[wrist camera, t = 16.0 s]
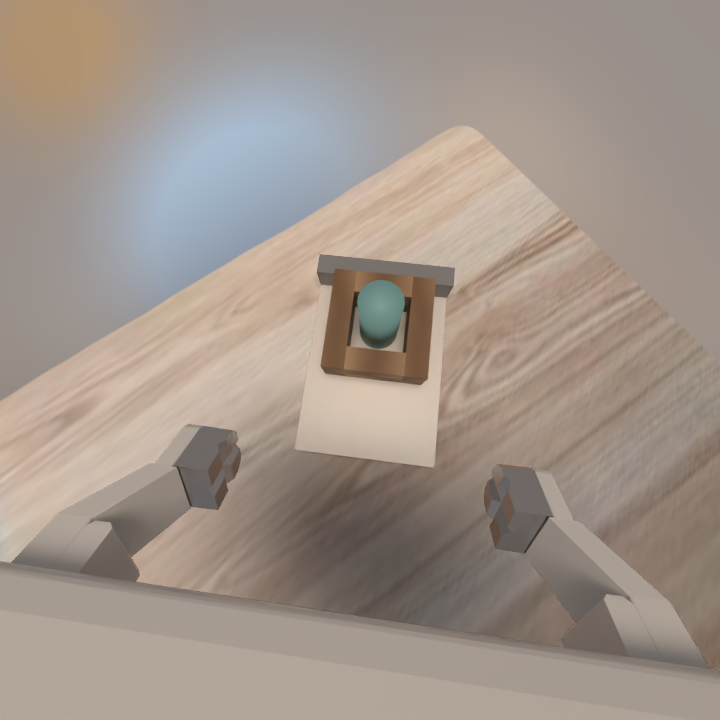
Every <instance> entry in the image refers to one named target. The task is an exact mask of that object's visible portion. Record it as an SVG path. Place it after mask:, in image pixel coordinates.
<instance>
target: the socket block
mask: <svg viewBox="0 0 720 720" xmlns="http://www.w3.org/2000/svg"><path fill="white" fill-rule="evenodd" d="M376 280H386V281H390V282H392V283H394V284H395V285H397V286H398V287H399V288H400V289H401V291H402V293H403V295H404V299H405V306H404V310H403V312H407V313H406V323H405V334H404V344H403V353H402V352H393V351H384V350H375V349H367V348H358V347H350V345H351V337H352V330H353V323H354V315H355V308H356V307H358V304H357V300H358V295H359V293H360V291H361V290H362V288H363V287H364V286H365V285H367V284H368V283H370V282H372V281H376ZM435 283H436V279H432V278H422V277H412V276H403V275H393V274H383V273H374V272H364V271H354V270H345V269H335V273H334V279H333V286H332V293H331V299H330V306H329V312H328V319H327V326H326V332H325V339H324V345H323V352H322V358H321V365H320V367H321V368H322V369H323V371H324V372H325V374H331V375H340V376H348V377H357V378H365V379H374V380H382V381H391V382H399V383H407V384H416V385H422V384H423V383H424V382H425V381H426V380H427V379H428V370H429V358H430V346H431V333H432V321H433V308H434V296H435Z"/></svg>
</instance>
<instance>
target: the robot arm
mask: <svg viewBox="0 0 720 720" xmlns="http://www.w3.org/2000/svg"><path fill="white" fill-rule="evenodd" d="M237 440H238V436H237V432H236V431H233V430H226V429H220V428H213V427H207V426H199V425H192V424H188V425H186V426H184V427H183V428H182V430H181V431H180V432H179V434H178V435H177V436H176V437H175V439H174V440H173V441H172V442H171V444H170V445H169V446H168V447H167V449H166V450H165V451H164V452H163V454H162V455H161V456H160V458H159V459H158V460H157V461H156V463H155V464H148V465H146V466H144V467H142V468H140V469H139V470H137V471H135V472H133V473H131V474H129V475H128V476H126V477H124V478H122V479H120V480H118V481H116V482H115V483H113V484H111V485H109V486H107V487H105V488H104V489H102V490H100V491H98V492H96V493H94V494H93V495H91V496H89V497H87V498H85V499H83V500H81V501H80V502H78V503H76V504H74V505H72V506H70V507H69V508H67V509H65V510H63V511H61V512H59V513H58V514H57V515H56V516H55V517H54V518H53V519H52V520H51V521H50V522H49V523H48V524H47V525H46V526H45V527H44V528H43V530H42V531H41V532H40V533H39V534H38V535H37V536H36V537H35V538H34V539H33V540H32V541H31V542H30V543H29V544H28V545H27V546H26V547H25V548H24V550H23V551H22V552H21V553H20V554H19V555H18V556H17V557H16V558H15V559H14V560H13V561H12V562H11V563H9V562H2V561H0V720H720V671H718V670H712V669H710V668H709V667H708V665H707V663H706V662H705V660H704V658H703V657H702V655H701V653H700V652H699V650H698V648H697V647H696V645H695V643H694V642H693V640H692V638H691V637H690V635H689V633H688V631H687V630H686V628H685V626H684V625H683V623H682V621H681V620H680V618H679V616H678V615H677V613H676V611H675V610H674V608H673V606H672V605H671V603H670V602H669V601H668V600H667V599H666V598H665V597H664V596H663V595H661V594H660V593H659V592H658V591H657V590H656V589H655V588H654V587H653V586H651V585H650V584H649V583H648V582H647V581H646V580H645V579H644V578H642V577H641V576H640V575H639V574H638V573H637V572H636V571H635V570H634V569H632V568H631V567H630V566H629V565H628V564H627V563H626V562H625V561H623V560H622V559H621V558H620V557H619V556H618V555H617V554H616V553H615V552H613V551H612V550H611V549H610V548H609V547H608V546H607V545H606V544H604V543H603V542H602V541H601V540H600V539H599V538H598V537H597V536H596V535H594V534H593V533H592V532H591V531H590V530H589V529H588V528H587V527H585V526H584V525H583V524H582V523H581V522H580V521H575V520H574V519H573V517H572V515H571V513H570V511H569V508H568V506H567V504H566V502H565V500H564V498H563V496H562V494H561V492H560V490H559V488H558V486H557V484H556V481H555V479H554V477H553V475H552V473H551V472H550V471H549V470H543V469H535V468H528V467H520V466H511V465H502V464H496V465H495V466H494V468H493V470H492V475H493V478H492V479H491V480H489V481H487V484H486V487H485V492H484V503H485V508H486V512H487V514H488V515H489V516H490V517H491V518H492V519H493V521H492V523H491V525H490V529H491V533H492V538H493V542H494V546H495V549H501V550H507V551H513V552H519V553H525V556H526V558H527V559H528V560H529V561H530V563H531V564H532V565H533V567H534V568H535V569H536V571H537V572H538V573H539V575H540V576H541V577H542V579H543V580H544V581H545V583H546V584H547V585H548V587H549V588H550V589H551V590H552V592H553V593H554V594H555V596H556V597H557V598H558V600H559V601H560V602H561V604H562V605H563V606H564V608H565V609H566V610H567V612H568V613H569V614H570V616H571V617H572V618H573V619H574V621H575V622H576V624H575V625H574V626H573V627H572V628H571V629H570V630H569V631H568V632H567V633H566V634H565V635H564V637H563V638H562V640H563V643H564V646H565V647H560V646H554V645H547V644H541V643H534V642H528V641H521V640H514V639H508V638H501V637H495V636H488V635H482V634H475V633H469V632H462V631H456V630H449V629H442V628H436V627H429V626H423V625H416V624H410V623H403V622H397V621H390V620H383V619H377V618H370V617H364V616H357V615H351V614H344V613H338V612H331V611H324V610H318V609H311V608H305V607H298V606H292V605H285V604H279V603H272V602H265V601H259V600H252V599H246V598H239V597H232V596H226V595H219V594H213V593H206V592H200V591H193V590H186V589H180V588H173V587H167V586H160V585H154V584H147V583H140V582H136V581H137V579H138V577H139V576H140V574H139V570H138V568H137V566H136V564H135V563H134V561H133V559H132V558H131V557H132V556H133V555H134V554H136V553H137V552H138V551H139V550H141V549H142V548H143V547H144V546H145V545H147V544H148V543H149V542H150V541H152V540H153V539H154V538H155V537H156V536H158V535H159V534H160V533H161V532H163V531H164V530H165V529H166V528H167V527H169V526H170V525H171V524H172V523H174V522H175V521H176V520H177V519H178V518H180V517H181V516H182V515H183V514H185V513H186V512H187V511H188V510H189V509H191V507H198V508H207V509H216V510H218V509H219V507H220V505H221V503H222V501H223V500H224V498H225V496H226V494H227V492H228V488H227V483H228V482H230V481H231V480H233V479H234V478H235V476H236V474H237V472H238V469H239V465H240V461H241V452H240V448H239V447H238V446H237V445H236V442H237Z"/></svg>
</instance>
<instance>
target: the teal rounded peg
mask: <svg viewBox="0 0 720 720" xmlns="http://www.w3.org/2000/svg"><path fill="white" fill-rule="evenodd" d="M357 304H358V316H359V327H360V336H361V339H362V340H363V342H364V343H365V344H366V345H367V346H369V347H371V348H374V349H383V348H386V347H388V346H390V345H391V344H392V343H393V342H394V340H395V338H396V336H397V332H398V328H399V325H400V321H401V317H402V313H403V310H404V306H405V299H404V295H403V293H402V291H401V289H400V288H399V287H398V286H397V285H395V284H394V283H392V282H390V281H386V280H376V281H372V282H370V283H368V284H367V285H365V286H364V287H363V288H362V290H361V291H360V293H359V295H358V300H357Z"/></svg>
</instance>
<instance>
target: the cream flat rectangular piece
mask: <svg viewBox="0 0 720 720" xmlns="http://www.w3.org/2000/svg"><path fill="white" fill-rule="evenodd" d="M335 269H345V270H354V271H364V272H374V273H383V274H393V275H403V276H412V277H422V278H432V279H436V283H435V296H434V308H433V321H432V333H431V346H430V358H429V370H428V379H427V380H426V381H425V382H424V383H423V384H422V385H416V384H407V383H399V382H391V381H382V380H374V379H365V378H357V377H348V376H340V375H331V374H325V372H324V371H323V369H322V368H321V367H320V365H321V358H322V352H323V345H324V339H325V332H326V326H327V319H328V312H329V306H330V299H331V293H332V286H333V279H334V273H335ZM454 270H455V268H450V267H440V266H430V265H421V264H411V263H401V262H391V261H381V260H371V259H362V258H352V257H342V256H332V255H322V254H320V257H319V263H318V269H317V273H318V277H319V280H320V283H321V287H320V294H319V300H318V306H317V312H316V318H315V325H314V331H313V337H312V343H311V350H310V356H309V362H308V368H307V375H306V381H305V387H304V393H303V400H302V406H301V412H300V418H299V425H298V431H297V437H296V443H295V449H294V450H302V451H309V452H317V453H325V454H332V455H340V456H348V457H355V458H363V459H371V460H379V461H386V462H394V463H402V464H409V465H417V466H425V467H432V468H434V465H435V451H436V437H437V423H438V409H439V395H440V381H441V367H442V353H443V339H444V325H445V311H446V298H447V296H448V294H449V293H450V291H451V289H452V288H453V285H454ZM406 313H407V312H403V313H402V317H401V321H400V325H399V328H398V332H397V336H396V338H395V340H394V342H393V343H392V344H391V345H390V346H388V347H386V348H383V349H375V350H384V351H393V352H402V353H403V344H404V334H405V323H406ZM350 347H358V348H367V349H374V348H371V347H369V346H367V345H366V344H365V343H364V342H363V340H362V339H361V336H360V327H359V316H358V307H356V308H355V315H354V323H353V330H352V337H351V345H350Z"/></svg>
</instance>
